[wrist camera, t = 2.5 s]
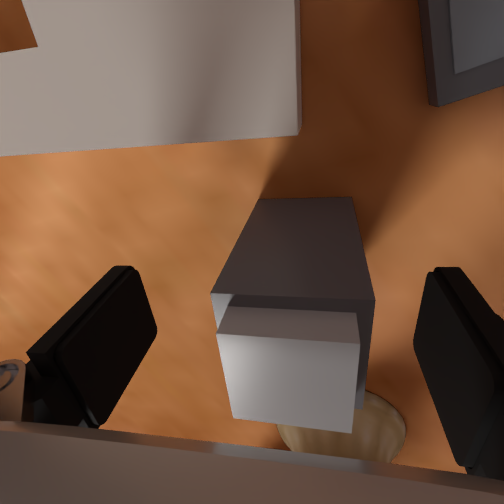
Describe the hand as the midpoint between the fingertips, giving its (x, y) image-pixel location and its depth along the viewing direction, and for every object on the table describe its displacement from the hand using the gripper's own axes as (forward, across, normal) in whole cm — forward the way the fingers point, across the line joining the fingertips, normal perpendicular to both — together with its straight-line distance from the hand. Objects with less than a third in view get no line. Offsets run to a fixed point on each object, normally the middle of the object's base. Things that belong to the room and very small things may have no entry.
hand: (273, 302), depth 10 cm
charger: (+5, -1, 0) cm, 5 cm away
